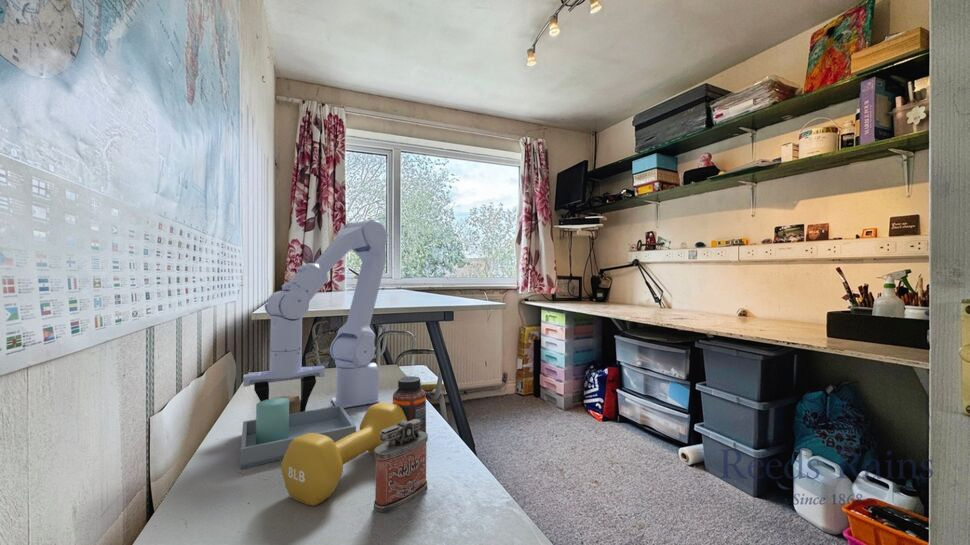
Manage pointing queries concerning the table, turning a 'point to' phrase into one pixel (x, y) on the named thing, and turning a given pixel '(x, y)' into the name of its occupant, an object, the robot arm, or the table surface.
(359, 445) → the dumbbell
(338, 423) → the tote
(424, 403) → the supplement bottle
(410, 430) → the lighter
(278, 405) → the teal cylinder
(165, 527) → the table surface
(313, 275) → the robot arm
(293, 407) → the cube
